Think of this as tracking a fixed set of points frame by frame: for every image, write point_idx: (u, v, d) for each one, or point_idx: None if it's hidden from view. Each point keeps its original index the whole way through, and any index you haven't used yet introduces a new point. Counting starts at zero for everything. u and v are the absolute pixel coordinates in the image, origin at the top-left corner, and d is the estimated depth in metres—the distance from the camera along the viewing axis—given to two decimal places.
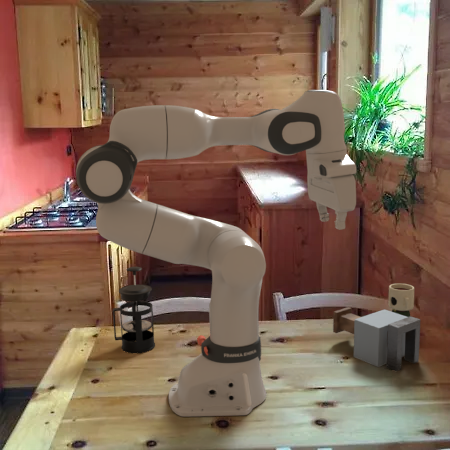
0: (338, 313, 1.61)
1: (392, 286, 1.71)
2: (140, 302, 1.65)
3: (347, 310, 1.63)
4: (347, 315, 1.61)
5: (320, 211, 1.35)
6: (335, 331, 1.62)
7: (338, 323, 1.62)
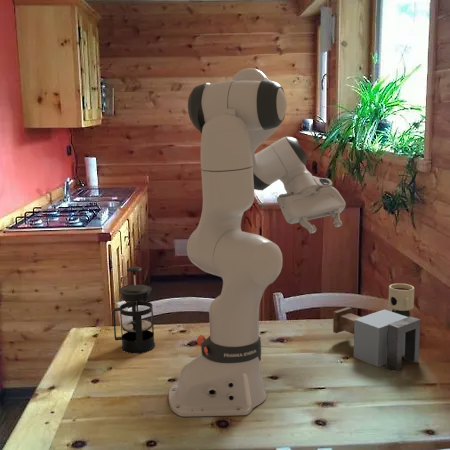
0: (338, 313, 1.61)
1: (392, 286, 1.71)
2: (140, 302, 1.65)
3: (347, 310, 1.63)
4: (347, 315, 1.61)
5: None
6: (335, 331, 1.62)
7: (338, 323, 1.62)
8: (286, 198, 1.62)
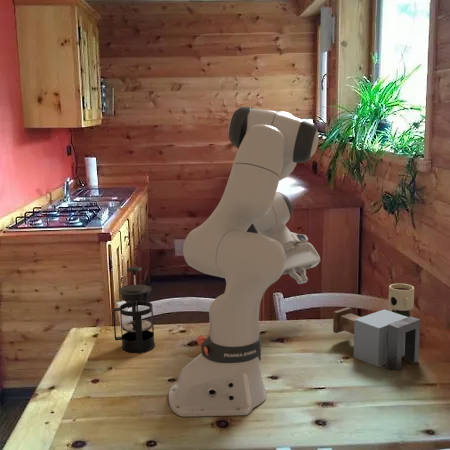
0: (338, 313, 1.61)
1: (392, 286, 1.71)
2: (140, 302, 1.65)
3: (347, 310, 1.63)
4: (347, 315, 1.61)
5: None
6: (335, 331, 1.62)
7: (338, 323, 1.62)
8: None
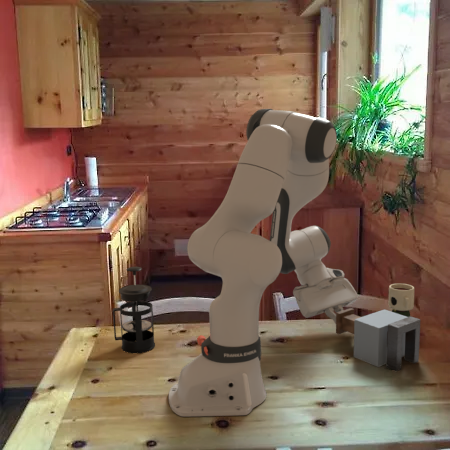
0: (341, 314, 1.60)
1: (392, 286, 1.71)
2: (140, 302, 1.65)
3: (350, 311, 1.62)
4: (350, 316, 1.61)
5: None
6: (338, 332, 1.61)
7: (341, 324, 1.61)
8: (302, 291, 1.62)
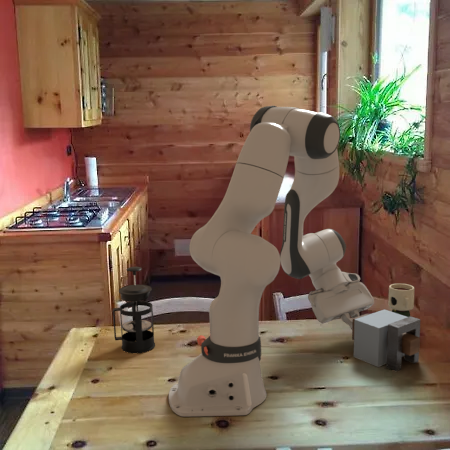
0: None
1: (392, 286, 1.71)
2: (140, 302, 1.65)
3: None
4: None
5: None
6: None
7: None
8: (318, 296, 1.57)
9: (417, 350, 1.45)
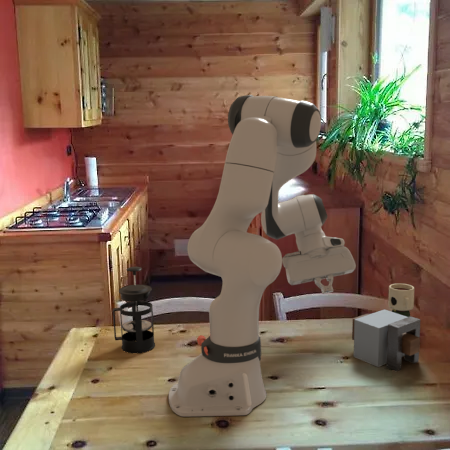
0: None
1: (392, 286, 1.71)
2: (141, 302, 1.65)
3: None
4: None
5: None
6: None
7: None
8: (289, 260, 1.67)
9: (417, 350, 1.45)
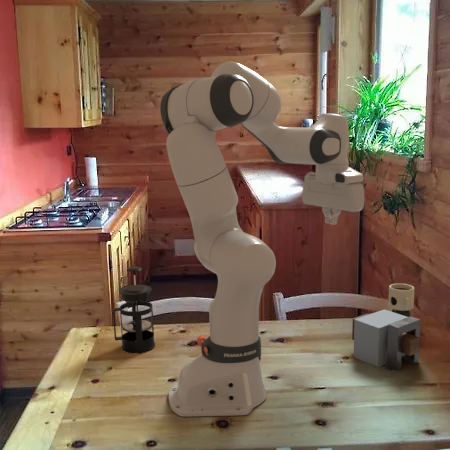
0: None
1: (392, 286, 1.71)
2: (140, 302, 1.65)
3: None
4: None
5: (326, 215, 1.61)
6: None
7: None
8: (305, 181, 1.65)
9: (417, 350, 1.45)
